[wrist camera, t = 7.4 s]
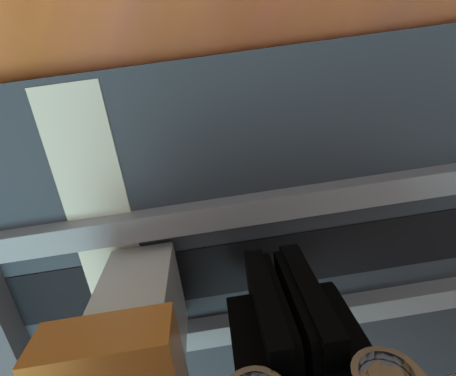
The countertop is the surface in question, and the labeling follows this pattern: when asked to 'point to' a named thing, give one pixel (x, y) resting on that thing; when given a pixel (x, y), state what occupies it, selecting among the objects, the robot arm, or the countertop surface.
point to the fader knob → (119, 323)
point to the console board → (241, 185)
